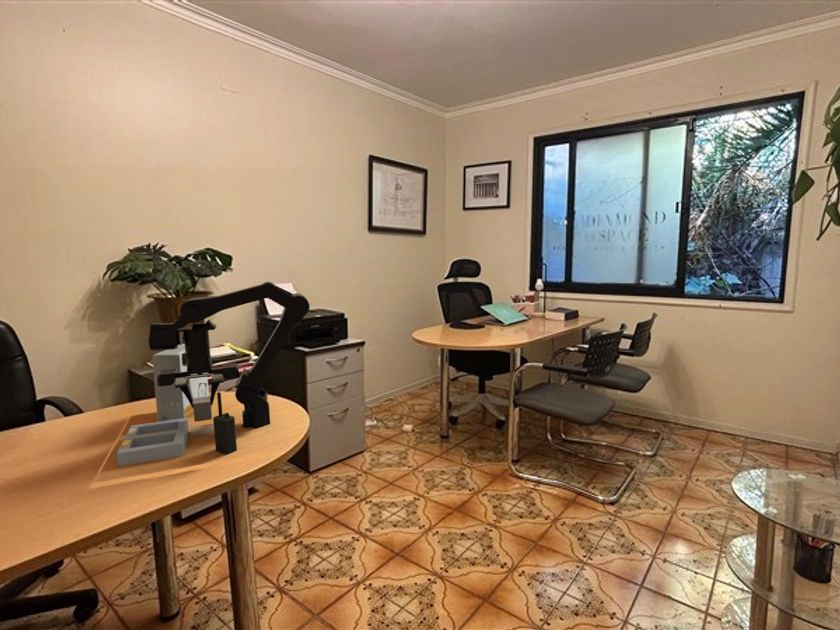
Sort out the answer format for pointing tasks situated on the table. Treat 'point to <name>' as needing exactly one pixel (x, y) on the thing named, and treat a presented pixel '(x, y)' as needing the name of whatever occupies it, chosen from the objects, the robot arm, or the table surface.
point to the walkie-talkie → (224, 431)
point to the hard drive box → (169, 397)
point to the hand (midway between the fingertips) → (202, 406)
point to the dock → (154, 442)
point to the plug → (202, 408)
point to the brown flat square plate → (202, 430)
